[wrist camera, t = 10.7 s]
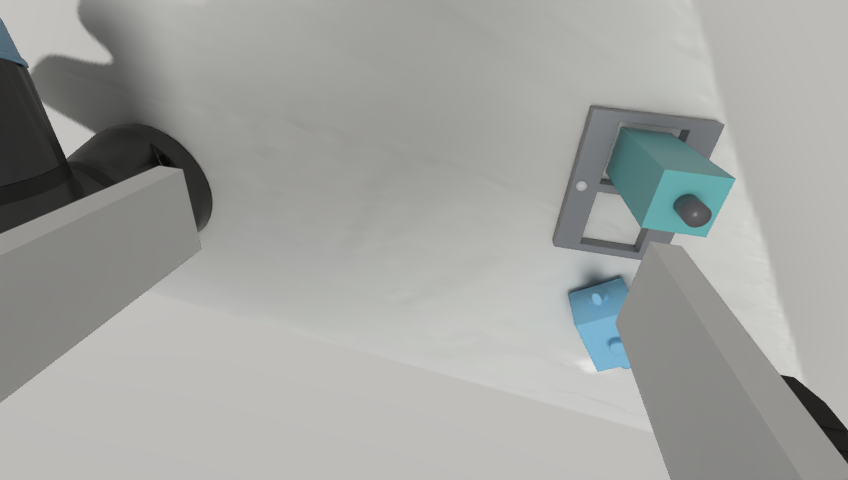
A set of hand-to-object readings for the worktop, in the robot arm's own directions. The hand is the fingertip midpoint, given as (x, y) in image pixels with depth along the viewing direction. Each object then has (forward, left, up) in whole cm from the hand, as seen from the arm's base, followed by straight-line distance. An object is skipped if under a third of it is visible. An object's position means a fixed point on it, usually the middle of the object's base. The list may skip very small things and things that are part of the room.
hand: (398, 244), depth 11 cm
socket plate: (+16, -8, -31) cm, 36 cm away
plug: (+16, -4, -31) cm, 35 cm away
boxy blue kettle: (+18, -22, -31) cm, 42 cm away
